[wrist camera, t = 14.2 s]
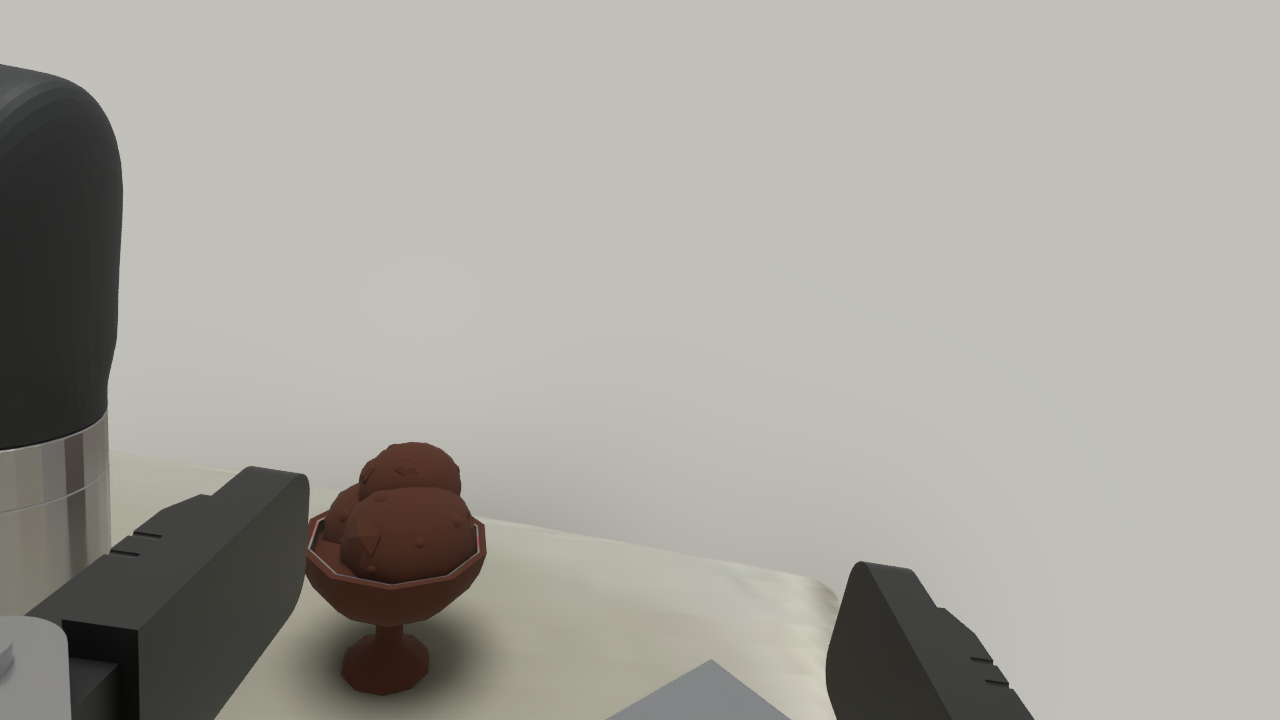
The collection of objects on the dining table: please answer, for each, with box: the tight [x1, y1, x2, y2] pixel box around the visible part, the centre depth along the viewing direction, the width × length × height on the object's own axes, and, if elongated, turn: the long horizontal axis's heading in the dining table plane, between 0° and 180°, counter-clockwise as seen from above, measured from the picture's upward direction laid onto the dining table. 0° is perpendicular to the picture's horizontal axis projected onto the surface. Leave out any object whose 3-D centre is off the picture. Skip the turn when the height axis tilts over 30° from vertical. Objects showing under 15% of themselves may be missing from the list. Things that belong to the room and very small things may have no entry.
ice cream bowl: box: [305, 442, 487, 695], centre depth 46 cm, size 11×11×15 cm
